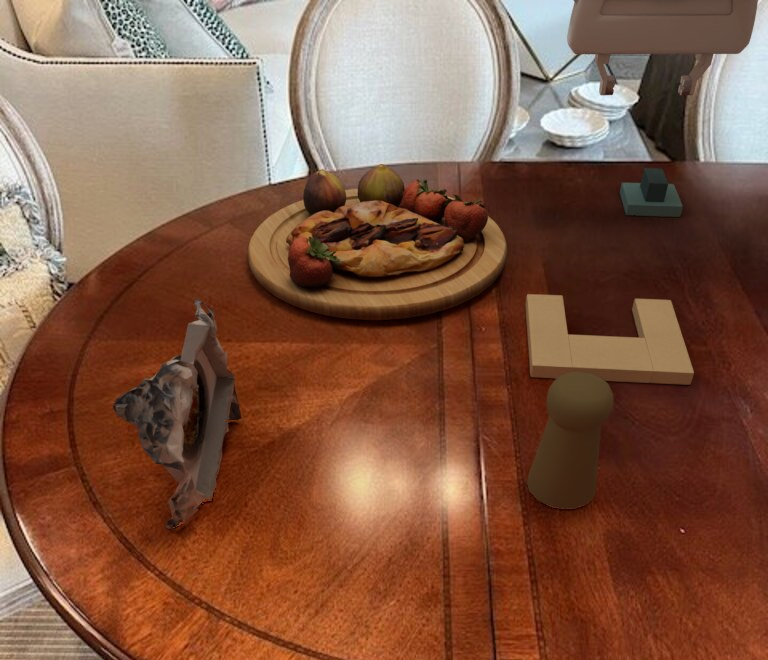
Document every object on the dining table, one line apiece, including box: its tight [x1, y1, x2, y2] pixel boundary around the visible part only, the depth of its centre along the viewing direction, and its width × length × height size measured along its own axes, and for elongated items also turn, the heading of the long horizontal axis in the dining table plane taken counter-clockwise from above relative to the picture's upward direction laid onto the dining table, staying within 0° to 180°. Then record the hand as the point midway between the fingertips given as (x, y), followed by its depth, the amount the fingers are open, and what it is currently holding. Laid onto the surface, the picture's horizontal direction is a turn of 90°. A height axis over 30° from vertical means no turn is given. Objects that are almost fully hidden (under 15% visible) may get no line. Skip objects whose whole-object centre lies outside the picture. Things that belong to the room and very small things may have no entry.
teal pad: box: [619, 167, 684, 218], centre depth 107 cm, size 7×7×4 cm
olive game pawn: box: [526, 372, 615, 509], centre depth 65 cm, size 6×6×11 cm
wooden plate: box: [246, 163, 508, 321], centre depth 95 cm, size 32×32×8 cm
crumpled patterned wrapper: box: [112, 298, 242, 531], centre depth 65 cm, size 15×4×13 cm, turn 174°
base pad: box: [525, 293, 695, 386], centre depth 84 cm, size 16×14×2 cm
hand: (645, 94), depth 94 cm, fingers open, 8 cm apart
